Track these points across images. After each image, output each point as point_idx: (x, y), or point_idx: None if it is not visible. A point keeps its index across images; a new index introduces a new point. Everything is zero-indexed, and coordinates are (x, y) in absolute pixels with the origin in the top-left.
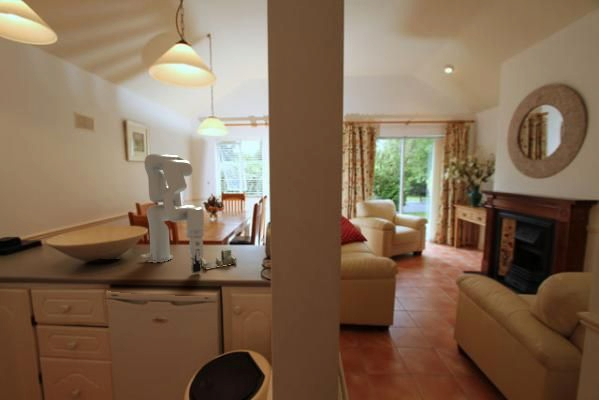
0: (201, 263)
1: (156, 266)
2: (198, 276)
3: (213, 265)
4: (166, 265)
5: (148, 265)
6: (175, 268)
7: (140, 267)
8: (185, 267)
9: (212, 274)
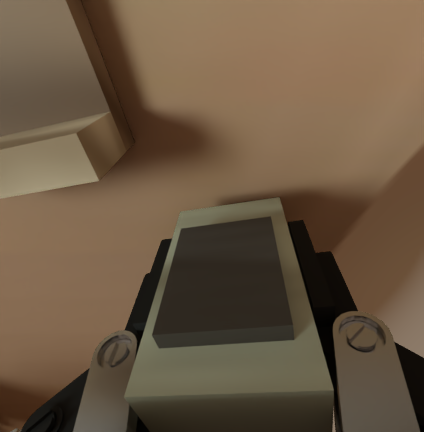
0: (281, 269)
1: (32, 394)
2: (303, 204)
3: (6, 17)
4: (11, 367)
5: (20, 411)
6: (65, 336)
7: None
8: (43, 291)
9: (322, 36)
